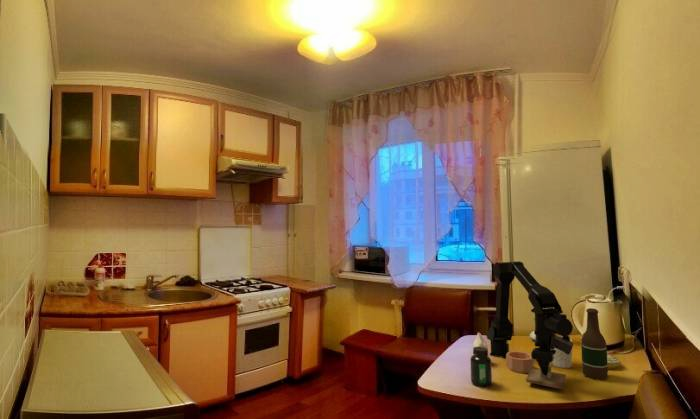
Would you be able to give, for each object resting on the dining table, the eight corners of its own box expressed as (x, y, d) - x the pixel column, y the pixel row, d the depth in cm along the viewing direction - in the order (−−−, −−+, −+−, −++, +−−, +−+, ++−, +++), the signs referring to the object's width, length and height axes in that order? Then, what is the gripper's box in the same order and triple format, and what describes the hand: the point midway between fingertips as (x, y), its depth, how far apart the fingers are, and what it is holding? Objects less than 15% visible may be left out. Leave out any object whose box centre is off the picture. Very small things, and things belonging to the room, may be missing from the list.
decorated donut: (624, 365, 145) (624, 355, 145) (616, 373, 138) (616, 362, 138) (593, 358, 153) (593, 349, 153) (584, 365, 146) (584, 355, 146)
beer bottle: (577, 372, 139) (574, 307, 140) (597, 371, 139) (594, 306, 140) (592, 381, 131) (589, 312, 132) (613, 380, 132) (610, 311, 133)
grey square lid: (526, 381, 128) (525, 367, 128) (531, 370, 137) (530, 357, 137) (563, 389, 122) (562, 373, 122) (565, 377, 131) (565, 362, 131)
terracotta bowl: (505, 370, 142) (504, 356, 142) (509, 362, 150) (509, 349, 150) (531, 375, 137) (530, 361, 137) (534, 366, 145) (534, 353, 145)
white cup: (576, 369, 142) (575, 342, 142) (553, 368, 143) (552, 341, 144) (568, 361, 149) (567, 336, 150) (547, 360, 151) (546, 335, 151)
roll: (487, 335, 146) (472, 334, 148) (488, 366, 146) (473, 365, 148) (487, 331, 152) (472, 330, 154) (488, 361, 151) (473, 359, 153)
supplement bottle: (486, 389, 126) (485, 353, 127) (467, 384, 131) (466, 349, 131) (495, 383, 131) (494, 348, 132) (476, 377, 136) (475, 344, 136)
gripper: (569, 338, 118) (571, 389, 118) (572, 324, 134) (574, 369, 133) (530, 333, 124) (531, 381, 124) (538, 320, 140) (539, 363, 139)
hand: (545, 373), depth 130 cm, fingers closed on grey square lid, 3 cm apart
